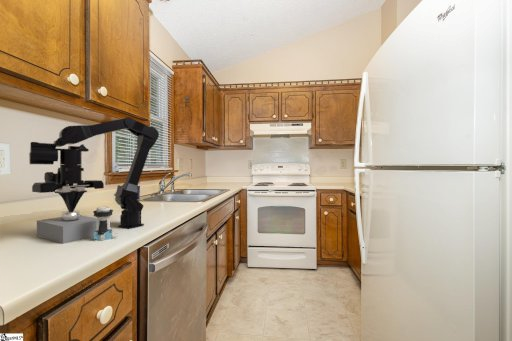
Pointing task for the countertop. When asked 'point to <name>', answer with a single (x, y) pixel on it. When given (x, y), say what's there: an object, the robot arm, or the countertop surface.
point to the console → (67, 229)
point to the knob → (70, 215)
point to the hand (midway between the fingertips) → (71, 211)
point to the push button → (103, 224)
